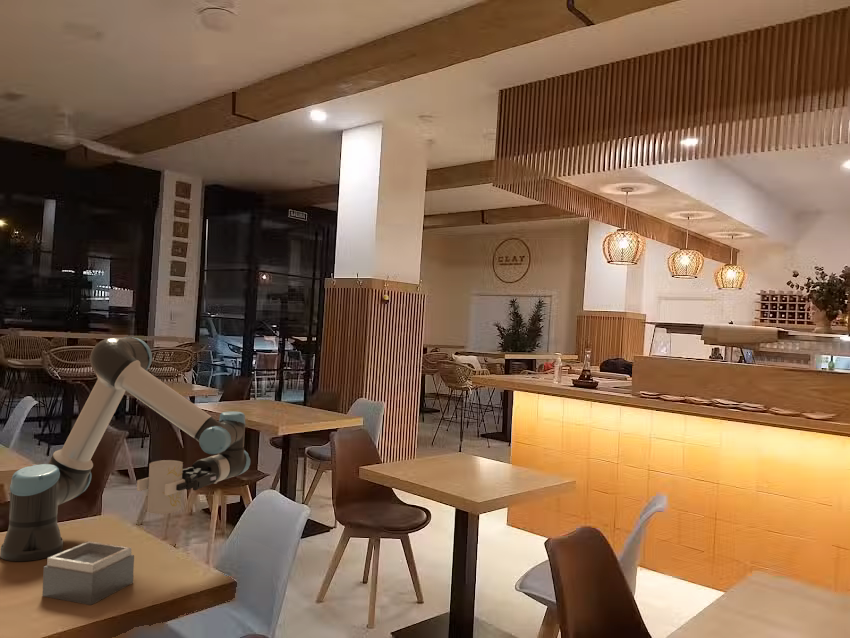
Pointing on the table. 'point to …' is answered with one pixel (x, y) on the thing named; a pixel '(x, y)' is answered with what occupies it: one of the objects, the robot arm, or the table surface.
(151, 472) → the cup
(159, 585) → the table surface
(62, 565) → the box
